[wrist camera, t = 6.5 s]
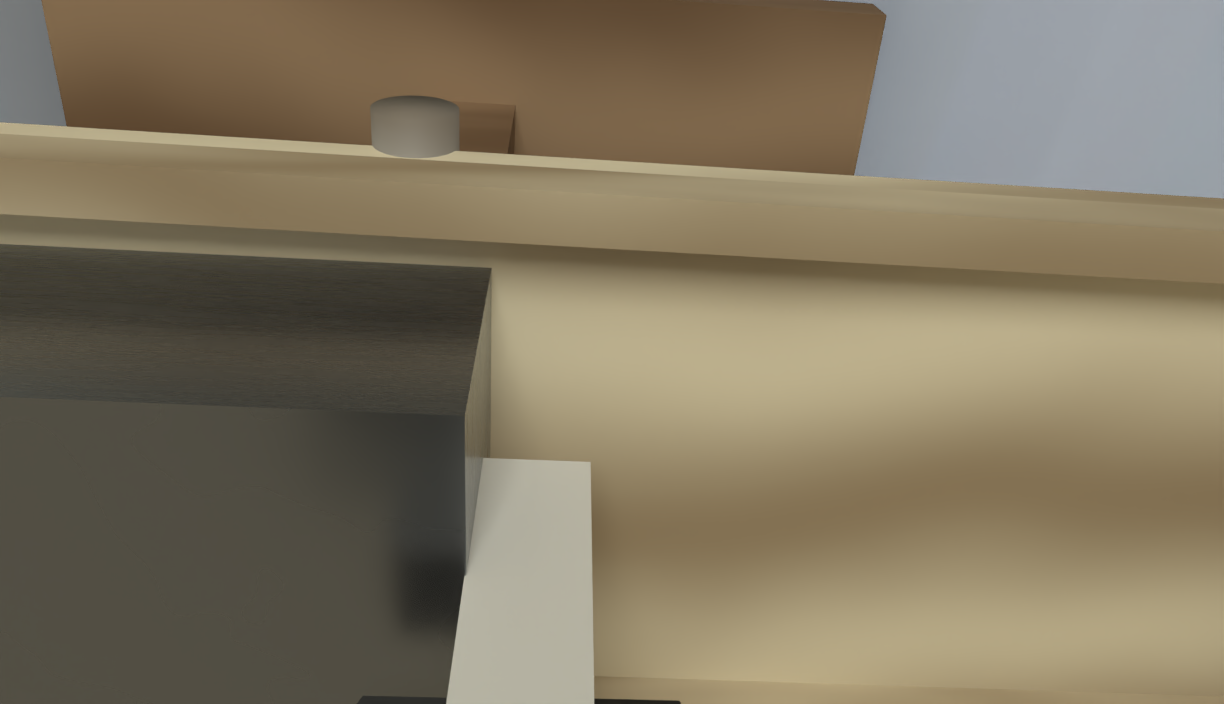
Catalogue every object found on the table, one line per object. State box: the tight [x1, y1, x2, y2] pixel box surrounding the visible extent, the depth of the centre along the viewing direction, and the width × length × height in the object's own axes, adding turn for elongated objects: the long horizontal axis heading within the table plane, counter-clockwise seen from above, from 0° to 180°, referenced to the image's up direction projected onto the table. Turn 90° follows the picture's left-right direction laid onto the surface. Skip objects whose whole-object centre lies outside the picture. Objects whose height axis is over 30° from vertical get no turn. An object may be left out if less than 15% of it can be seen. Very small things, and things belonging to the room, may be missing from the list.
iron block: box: [0, 244, 492, 704], centre depth 13 cm, size 7×10×4 cm
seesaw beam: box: [0, 95, 1224, 704], centre depth 15 cm, size 10×32×3 cm, turn 86°
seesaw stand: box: [42, 0, 886, 176], centre depth 21 cm, size 10×18×9 cm, turn 86°
